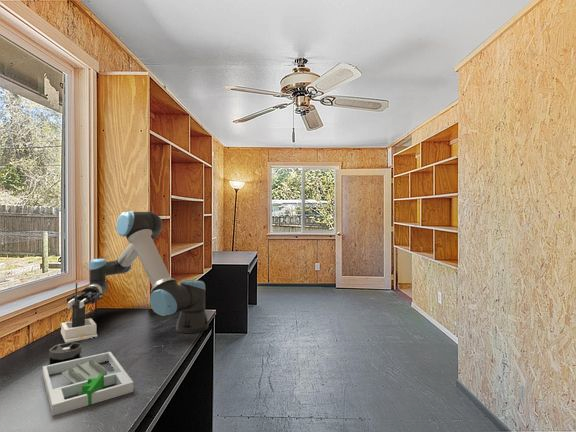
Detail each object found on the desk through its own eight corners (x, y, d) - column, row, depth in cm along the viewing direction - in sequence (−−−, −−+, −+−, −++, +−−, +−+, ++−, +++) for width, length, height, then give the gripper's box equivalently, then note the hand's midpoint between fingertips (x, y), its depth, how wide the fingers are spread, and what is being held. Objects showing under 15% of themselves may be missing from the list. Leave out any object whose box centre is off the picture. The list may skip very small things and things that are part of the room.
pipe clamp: (91, 387, 110) (92, 374, 110) (103, 386, 111) (104, 373, 111) (77, 405, 100) (77, 390, 100) (90, 404, 100) (91, 390, 100)
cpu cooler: (81, 349, 127) (47, 354, 122) (81, 364, 127) (47, 370, 122) (81, 340, 136) (50, 344, 131) (81, 354, 136) (50, 359, 131)
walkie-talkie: (77, 328, 154) (78, 283, 154) (71, 327, 155) (72, 283, 155) (85, 325, 159) (87, 281, 159) (79, 324, 160) (80, 281, 159)
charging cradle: (97, 337, 154) (97, 325, 154) (65, 343, 147) (65, 331, 147) (90, 327, 167) (90, 317, 167) (60, 332, 159) (60, 321, 159)
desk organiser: (133, 391, 108) (133, 382, 108) (52, 415, 95) (52, 405, 95) (110, 359, 131) (110, 351, 131) (42, 375, 118) (42, 366, 118)
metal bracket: (54, 369, 111) (97, 352, 124) (51, 385, 111) (94, 366, 125) (82, 391, 105) (124, 371, 119) (78, 408, 106) (121, 386, 119)
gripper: (110, 299, 176) (95, 313, 153) (72, 301, 172) (52, 314, 150) (110, 285, 176) (96, 296, 153) (72, 286, 172) (52, 297, 149)
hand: (74, 305), depth 152 cm, fingers closed on walkie-talkie, 4 cm apart
